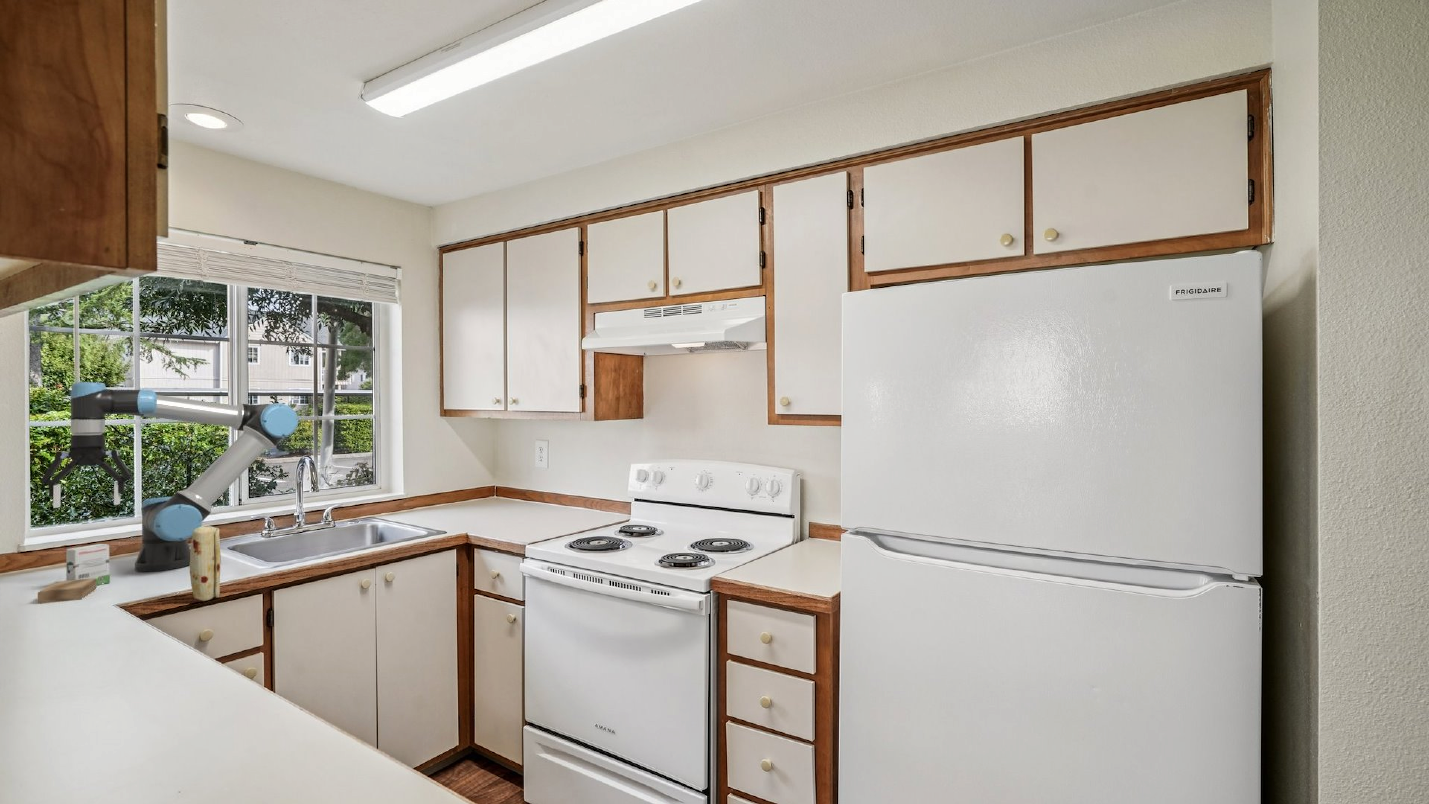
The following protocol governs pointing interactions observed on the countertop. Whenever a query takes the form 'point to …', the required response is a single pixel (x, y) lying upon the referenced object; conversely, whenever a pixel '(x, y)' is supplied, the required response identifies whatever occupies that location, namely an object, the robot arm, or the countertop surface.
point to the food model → (205, 563)
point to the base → (67, 590)
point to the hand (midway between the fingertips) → (87, 505)
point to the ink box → (88, 563)
